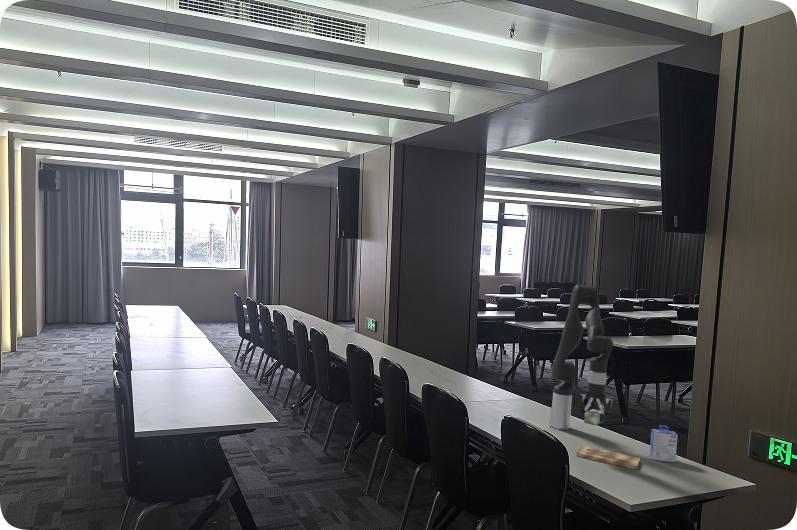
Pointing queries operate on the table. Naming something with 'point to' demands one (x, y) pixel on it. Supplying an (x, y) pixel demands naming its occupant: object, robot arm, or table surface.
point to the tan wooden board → (608, 457)
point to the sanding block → (592, 417)
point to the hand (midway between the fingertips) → (593, 420)
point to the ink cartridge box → (663, 444)
